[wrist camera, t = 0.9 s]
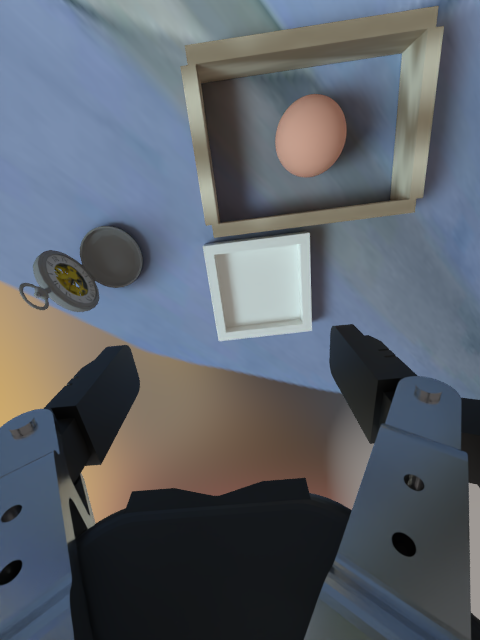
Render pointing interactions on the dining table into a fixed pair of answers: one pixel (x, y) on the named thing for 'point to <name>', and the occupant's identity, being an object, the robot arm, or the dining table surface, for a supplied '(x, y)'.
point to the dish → (260, 285)
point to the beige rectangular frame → (314, 50)
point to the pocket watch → (86, 269)
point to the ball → (311, 135)
